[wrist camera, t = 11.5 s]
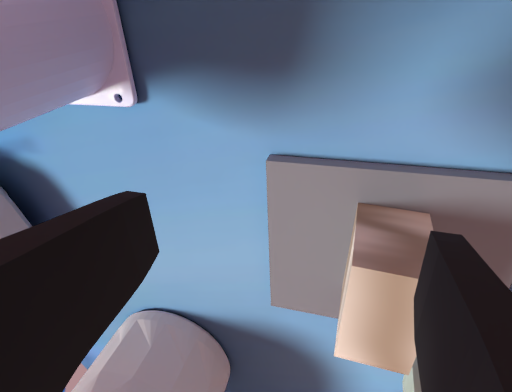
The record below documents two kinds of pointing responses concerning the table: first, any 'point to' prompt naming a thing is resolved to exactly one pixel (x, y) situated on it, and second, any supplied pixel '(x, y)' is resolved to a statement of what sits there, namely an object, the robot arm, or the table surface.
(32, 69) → the robot arm
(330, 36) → the table surface
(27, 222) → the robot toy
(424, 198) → the slate plate
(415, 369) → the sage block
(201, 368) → the mug
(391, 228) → the tan block
